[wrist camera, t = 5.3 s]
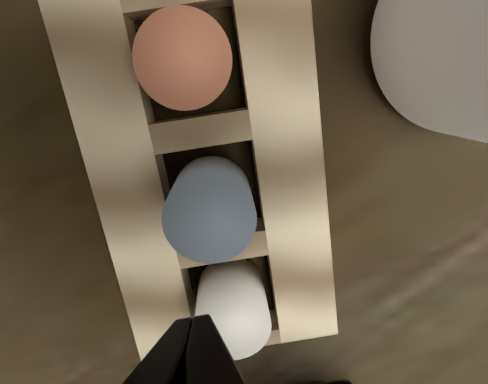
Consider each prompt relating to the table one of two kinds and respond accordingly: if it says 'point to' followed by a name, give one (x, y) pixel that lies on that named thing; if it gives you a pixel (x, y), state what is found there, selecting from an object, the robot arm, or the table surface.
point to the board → (197, 136)
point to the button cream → (236, 305)
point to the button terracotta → (182, 57)
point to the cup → (434, 63)
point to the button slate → (209, 211)
